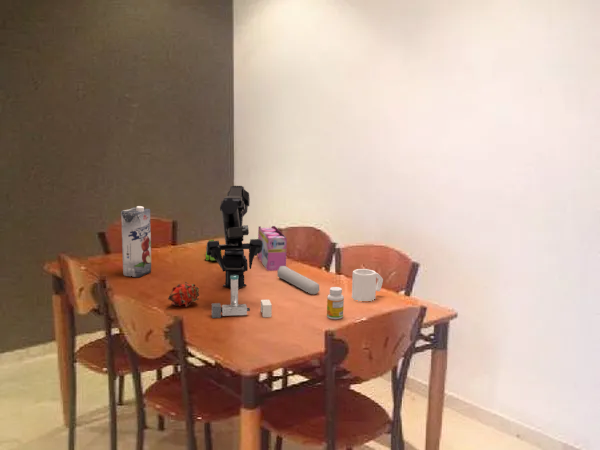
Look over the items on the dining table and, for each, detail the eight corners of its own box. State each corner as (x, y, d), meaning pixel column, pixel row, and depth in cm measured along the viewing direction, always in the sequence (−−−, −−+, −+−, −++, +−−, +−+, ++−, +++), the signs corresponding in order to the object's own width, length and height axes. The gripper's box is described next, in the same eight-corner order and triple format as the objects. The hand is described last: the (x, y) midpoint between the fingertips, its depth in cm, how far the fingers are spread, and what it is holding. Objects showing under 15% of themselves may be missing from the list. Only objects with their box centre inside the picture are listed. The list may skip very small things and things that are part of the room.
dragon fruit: (202, 306, 258) (171, 317, 251) (190, 288, 262) (160, 299, 255) (207, 292, 252) (175, 303, 245) (195, 273, 256) (163, 283, 249)
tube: (324, 284, 269) (290, 267, 290) (312, 281, 266) (279, 264, 288) (319, 298, 270) (286, 280, 291) (307, 295, 267) (275, 277, 288)
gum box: (256, 256, 322) (256, 225, 319) (274, 255, 324) (275, 225, 321) (267, 271, 299) (267, 238, 296) (286, 270, 301) (287, 237, 298)
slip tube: (222, 315, 243) (222, 277, 240) (221, 313, 245) (221, 275, 243) (246, 314, 244) (247, 276, 241) (246, 312, 247) (246, 274, 244)
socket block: (263, 317, 243) (263, 305, 243) (260, 311, 249) (260, 299, 248) (271, 317, 244) (271, 305, 243) (269, 311, 250) (269, 299, 249)
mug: (361, 303, 260) (362, 276, 258) (346, 297, 267) (347, 270, 265) (388, 298, 266) (389, 272, 264) (373, 292, 273) (374, 266, 271)
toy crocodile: (221, 264, 309) (221, 249, 307) (205, 264, 308) (205, 249, 307) (221, 252, 328) (221, 238, 327) (205, 252, 327) (205, 239, 326)
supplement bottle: (325, 314, 248) (326, 286, 246) (341, 314, 248) (342, 286, 246) (327, 319, 243) (328, 291, 241) (344, 319, 243) (345, 290, 241)
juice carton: (119, 276, 287) (117, 207, 282) (135, 269, 297) (133, 203, 291) (139, 278, 284) (137, 209, 278) (154, 272, 294) (153, 204, 288)
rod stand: (212, 318, 242) (212, 306, 241) (211, 314, 245) (211, 303, 244) (250, 316, 244) (250, 305, 243) (248, 313, 247) (248, 302, 246)
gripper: (206, 217, 249) (211, 258, 241) (261, 216, 253) (267, 256, 245) (204, 234, 258) (208, 274, 250) (257, 232, 262) (263, 272, 254)
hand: (237, 269), depth 250 cm, fingers open, 9 cm apart
